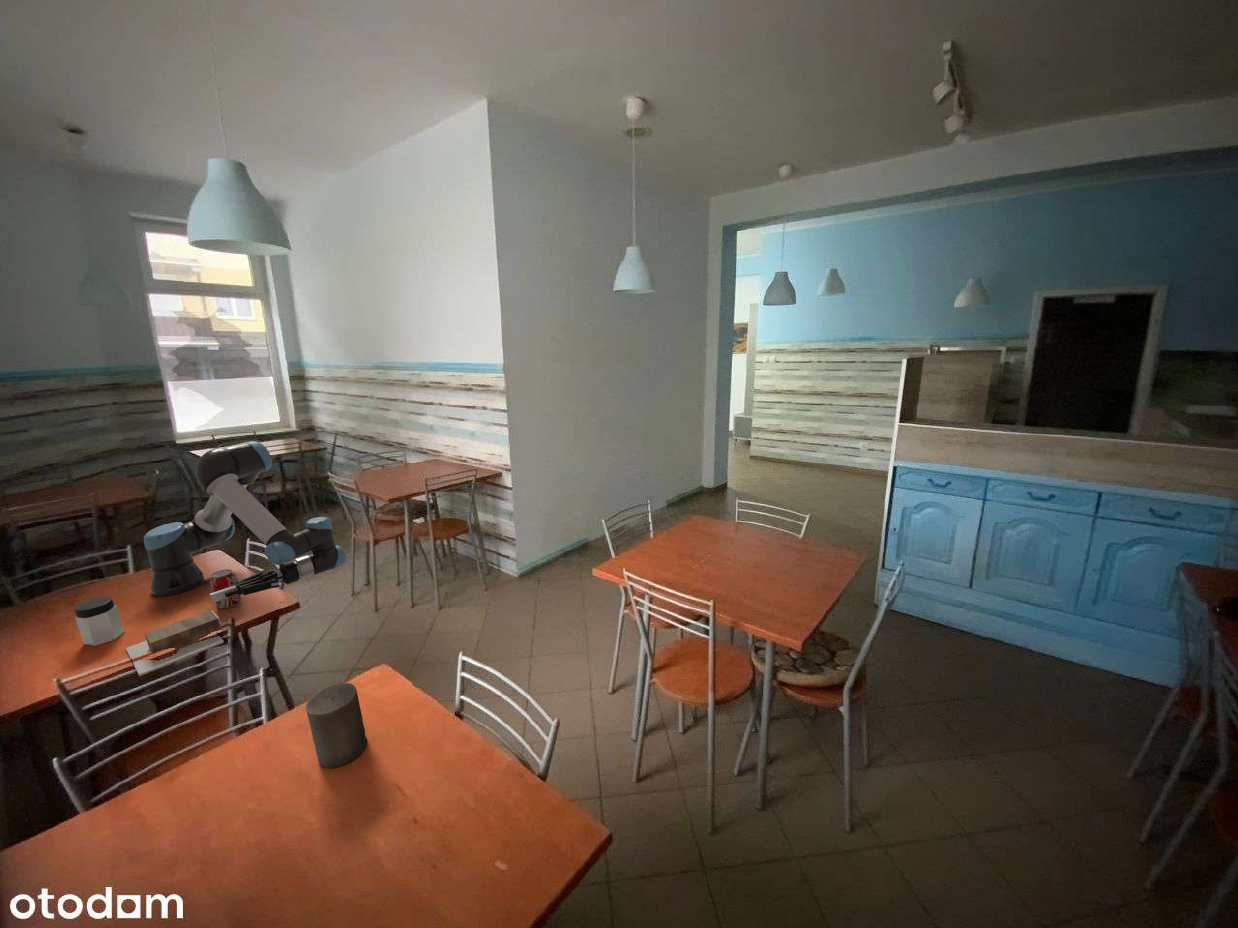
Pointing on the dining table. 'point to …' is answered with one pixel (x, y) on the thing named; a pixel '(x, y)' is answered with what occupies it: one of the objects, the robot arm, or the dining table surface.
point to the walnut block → (183, 632)
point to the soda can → (224, 587)
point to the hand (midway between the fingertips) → (211, 598)
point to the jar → (98, 621)
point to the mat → (183, 653)
